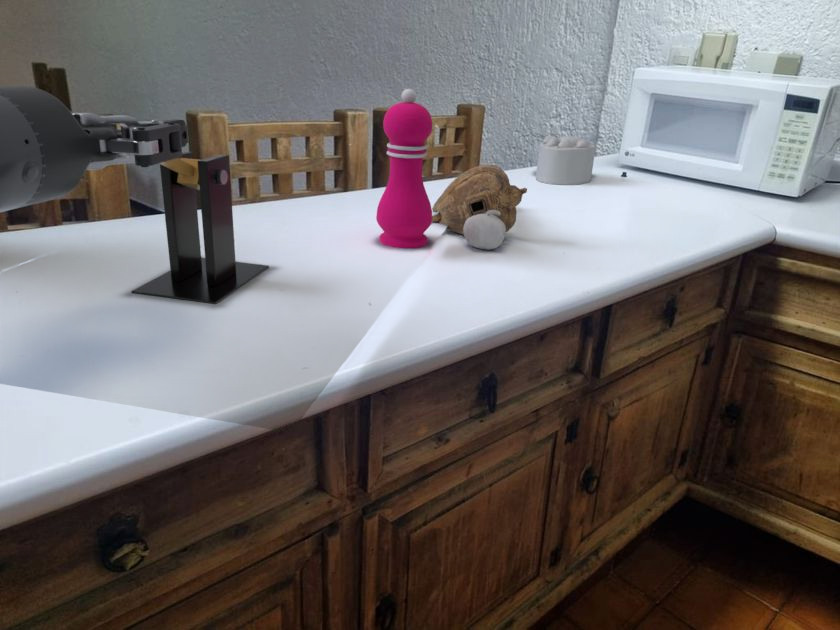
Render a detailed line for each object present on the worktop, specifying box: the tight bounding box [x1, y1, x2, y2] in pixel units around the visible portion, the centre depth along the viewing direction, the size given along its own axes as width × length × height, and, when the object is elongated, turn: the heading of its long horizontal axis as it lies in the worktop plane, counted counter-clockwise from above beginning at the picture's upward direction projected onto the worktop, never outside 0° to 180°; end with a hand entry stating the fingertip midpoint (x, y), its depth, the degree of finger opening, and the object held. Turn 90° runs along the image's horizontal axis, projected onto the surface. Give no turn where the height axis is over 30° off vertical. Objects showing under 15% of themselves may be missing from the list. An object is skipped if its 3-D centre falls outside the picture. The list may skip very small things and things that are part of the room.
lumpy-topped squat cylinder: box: [535, 135, 596, 186], centre depth 138 cm, size 10×13×9 cm
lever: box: [116, 128, 200, 191], centre depth 60 cm, size 13×6×2 cm, turn 167°
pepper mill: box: [376, 88, 433, 249], centre depth 82 cm, size 7×7×20 cm
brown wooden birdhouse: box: [431, 164, 528, 236], centre depth 101 cm, size 10×24×15 cm
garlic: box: [463, 210, 507, 251], centre depth 88 cm, size 6×5×5 cm
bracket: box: [130, 150, 270, 305], centre depth 67 cm, size 12×9×14 cm
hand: (146, 129), depth 56 cm, fingers closed on lever, 6 cm apart
